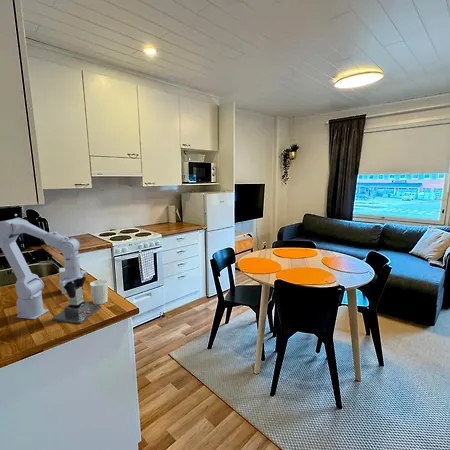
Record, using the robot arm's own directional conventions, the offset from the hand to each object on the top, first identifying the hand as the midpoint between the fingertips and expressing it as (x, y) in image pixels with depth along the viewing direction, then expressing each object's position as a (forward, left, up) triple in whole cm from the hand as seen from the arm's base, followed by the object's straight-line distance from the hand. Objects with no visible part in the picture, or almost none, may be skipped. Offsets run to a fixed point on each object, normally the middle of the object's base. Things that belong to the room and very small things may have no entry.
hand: (75, 295), depth 121 cm
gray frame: (0, 0, -9) cm, 9 cm away
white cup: (+3, +13, -9) cm, 16 cm away
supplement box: (-22, +21, -9) cm, 32 cm away
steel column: (0, 0, -4) cm, 4 cm away
